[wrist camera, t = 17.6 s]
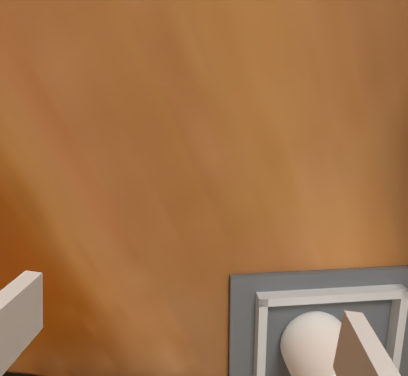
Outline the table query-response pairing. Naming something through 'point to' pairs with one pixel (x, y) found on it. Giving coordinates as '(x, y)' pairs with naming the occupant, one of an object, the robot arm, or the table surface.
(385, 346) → the rail plate
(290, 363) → the cup
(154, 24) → the table surface
